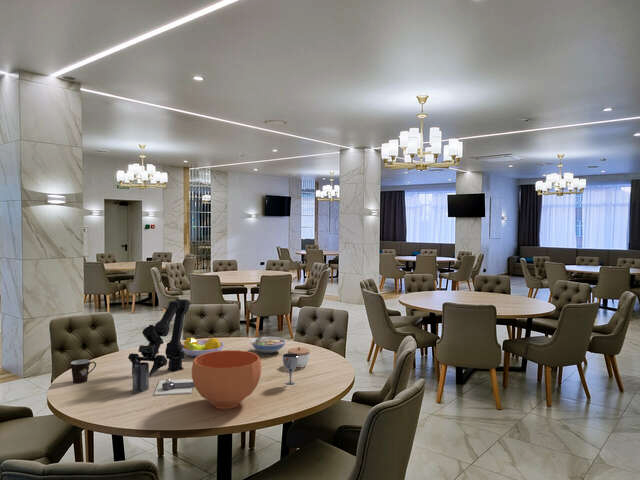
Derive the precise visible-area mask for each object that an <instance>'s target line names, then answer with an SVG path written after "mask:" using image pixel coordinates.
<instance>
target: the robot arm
mask: <svg viewBox="0 0 640 480" xmlns="http://www.w3.org/2000/svg"><path fill="white" fill-rule="evenodd" d="M190 305H191V304H190V301H189V300H188V299H183V298H181V299H180V298H176V299H175V300H171V301H170V300H169V303H168V306H167V308H166V310H165V312H164V313H163V315H162V317H161V320H159V321H157V322H156V323H155V325H154V324H149V325H148V326H146V327H145V328H143V330H142V332H141V333H142V335H143V337H144V339H146V341H147V342H148V344H147V345H139V346H138V347H139V348H138V351H137V352H138V353H140V355H141V356H140V355H139V354H138V353H135V352H134V353H133V352H132V353H131V352H130V353H129V355H128V357H127V358H128V360H129V361H130V362H131V363H132V364H131V365H132V366H131V375H132V376H133V368H135V364H137V363H141V362H153V365H152V367H151V369H150V370H149V371H150V372H149V377H151V376H152V375H154V374H155V373H156V372H157V371H159V370H160V369H161V368H163V367H164V366H167V364H168V366H167V370H169V371H171V372H177V371H180V370H184V367H183V361H182V360H184V359H185V355H186V353H184V352H183V350H182V345H183V344H182V341H181V338H182V331H183V325H184V321H185V320H184V319H185V315H186V314H187V313H188V311H189V307H190ZM173 318H174V321H173ZM172 321H173V327H172V334H171V339H170V341H169V342H167V343H166V347H165V355H164V354H163V355H161V354H160V351H159V350H160V348H161V345H164V339H163V338H162V337H168V335H169V332H170V324H171V322H172Z"/></svg>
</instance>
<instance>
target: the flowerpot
mask: <svg viewBox="0 0 640 480" xmlns="http://www.w3.org/2000/svg"><path fill="white" fill-rule="evenodd" d="M261 375H262V361H261V357H260V356H259V355H258V354H257V353H254V352H251V351H246V350H238V349H237V350H235V349H234V350H231V349H230V350H229V349H225V350H221V351H214V352H210V353H205V354H202V355H200V356H197V357H195V358H194V359H193V361H192V367H191V379H193V383H194V386H195V387H194V388H195V389H196V391H197V392H198V394H199V396H200V397H202V398H203V399H205V400H206V401H208V402H210V403H211V404H213V406H214V407H215V408H217V409H220V410H228V409H229V410H230V409H233V408H236V407H238V406H239V405H240V403H241V402H242V401H243V400H245V399H246V398H248V397H249V396H250V395H252V393H253V392H254V390H255V389H256V388H257V387H258V384H259V381H260V378H261Z"/></svg>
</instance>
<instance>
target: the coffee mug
mask: <svg viewBox="0 0 640 480" xmlns="http://www.w3.org/2000/svg"><path fill="white" fill-rule="evenodd" d="M93 363H94V366H93V368H92V369H91V370H90V365H91V364H93ZM96 366H97V363H96V362H95V361H90V360H89V359H77V360H73V361H71V362H70V369H71V375H72V383H73V384H83V383H86V382H88V376H89V374H90V373H91V372H92V371H93V370H95V368H96Z"/></svg>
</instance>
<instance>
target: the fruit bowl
mask: <svg viewBox="0 0 640 480" xmlns="http://www.w3.org/2000/svg"><path fill="white" fill-rule="evenodd" d="M224 347H225V344H224V342H222V341H220V340H219V339H218V338H217V337H210V338H208V339H207V340H201V339H200V340H197V339H196V338H195V337H194V336H193V337H187V338H186V339H185V340H184V342H183V344H182V350H183V352H184V353H185V355H188V356H191V357H195V358H196V357H197V356H200V355H202V354H205V353H210V352H214V351H223V349H224Z"/></svg>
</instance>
